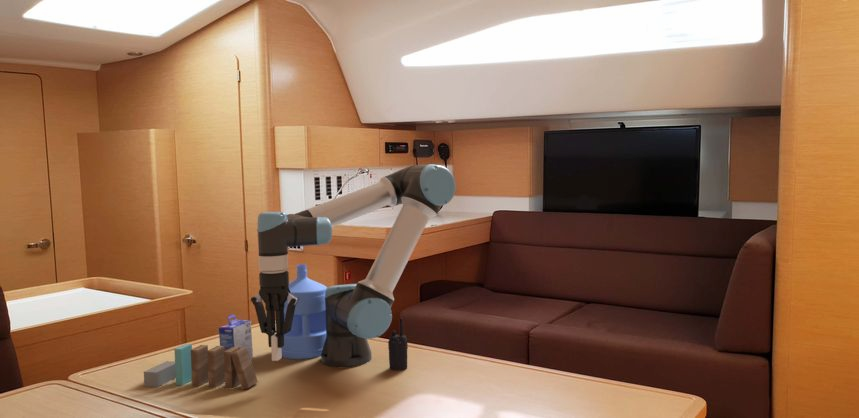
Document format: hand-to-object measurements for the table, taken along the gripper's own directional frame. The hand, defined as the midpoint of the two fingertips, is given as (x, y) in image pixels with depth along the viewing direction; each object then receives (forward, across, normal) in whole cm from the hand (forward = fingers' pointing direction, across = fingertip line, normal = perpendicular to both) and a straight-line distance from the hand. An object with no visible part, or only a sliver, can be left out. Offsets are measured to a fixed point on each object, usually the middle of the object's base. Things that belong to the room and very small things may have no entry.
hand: (276, 359), depth 174 cm
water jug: (+8, +7, -32) cm, 34 cm away
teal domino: (+8, +28, 0) cm, 29 cm away
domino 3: (+8, +13, 0) cm, 15 cm away
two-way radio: (+8, -27, -21) cm, 35 cm away
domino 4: (+8, +8, 0) cm, 11 cm away
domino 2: (+8, +18, 0) cm, 20 cm away
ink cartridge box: (+8, +23, -19) cm, 31 cm away
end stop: (+8, +35, 0) cm, 36 cm away
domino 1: (+8, +23, 0) cm, 24 cm away
